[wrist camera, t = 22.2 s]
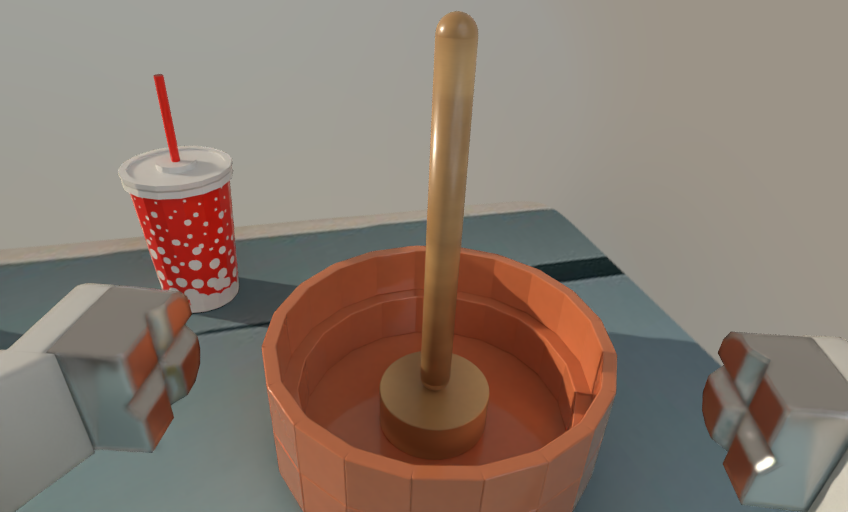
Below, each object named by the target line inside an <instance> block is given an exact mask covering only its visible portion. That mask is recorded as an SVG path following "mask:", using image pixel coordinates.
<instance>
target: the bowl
mask: <svg viewBox="0 0 848 512" xmlns="http://www.w3.org/2000/svg"><path fill="white" fill-rule="evenodd" d="M425 256H426V246H408V247H401V248H393V249H386V250H379V251H373V252H368V253H365V254H362V255H359V256H356V257H353V258H350V259H347V260H344V261H341V262H338V263H335V264H333V265H331V266H329V267H328V268H326V269H324V270H323V271H321V272H319V273H318V274H316V275H314V276H313V277H311V278H309V279H308V280H306V281H304V282H303V283H301V284H300V285H299V286H298V287H297V288H296V289H295V290H294V291H293V292H292V293H291V294H290V296H289V297H288V298H287V299H286V300H285V301H284V302H283V303H282V304H281V305H280V307H279V308H278V309H277V310H276V311H275V312H274V314H273V317H272V320H271V322H270V325H269V328H268V331H267V333H266V336H265V339H264V342H263V344H262V355H263V363H264V370H265V378H266V385H267V392H268V399H269V405H270V412H271V419H272V425H273V432H274V439H275V445H276V452H277V459H278V465H279V471H280V474H281V475H282V477H283V479H284V480H285V482H286V484H287V485H288V487H289V489H290V490H291V492H292V494H293V495H294V497H295V499H296V500H297V502H298V504H299V505H300V507H301V509H302V510H303V512H573V511H574V509H575V507H576V505H577V503H578V501H579V499H580V498H581V496H582V494H583V492H584V490H585V488H586V486H587V484H588V483H589V481H590V479H591V476H592V473H593V470H594V466H595V463H596V460H597V456H598V453H599V449H600V446H601V443H602V439H603V436H604V432H605V429H606V426H607V422H608V419H609V416H610V412H611V409H612V405H613V402H614V399H615V395H616V384H617V354H616V351H615V349H614V347H613V345H612V342H611V340H610V338H609V336H608V334H607V331H606V329H605V327H604V325H603V323H602V321H601V319H600V318H599V317H598V316H597V315H596V314H595V313H594V312H593V311H592V310H591V309H590V308H589V307H588V305H587V304H586V303H585V302H584V301H583V300H582V299H581V298H580V297H579V296H578V295H577V294H576V293H575V292H573V290H571V289H569V288H568V287H566V286H565V285H563V284H561V283H560V282H558V281H556V280H555V279H553V278H552V277H550V276H548V275H547V274H545V273H543V272H542V271H540V270H538V269H536V268H533V267H530V266H528V265H525V264H522V263H520V262H517V261H514V260H512V259H509V258H506V257H504V256H501V255H498V254H493V253H488V252H482V251H477V250H472V249H466V248H461V252H460V264H459V276H458V288H457V300H456V313H455V325H454V337H453V349H452V353H453V354H456V355H459V356H461V357H463V358H465V359H467V360H469V361H470V362H472V363H473V364H474V365H475V366H477V367H478V368H479V369H480V371H481V372H482V373H483V374H484V376H485V378H486V380H487V382H488V386H489V393H490V394H489V402H488V409H487V417H486V424H485V429H484V432H483V434H482V436H481V438H480V439H479V441H478V442H477V443H476V444H475V445H474V446H473V447H472V448H471V449H469V450H468V451H466V452H464V453H463V454H460V455H458V456H455V457H452V458H448V459H439V460H431V459H423V458H418V457H415V456H412V455H409V454H407V453H405V452H403V451H401V450H400V449H398V448H397V447H396V446H394V445H393V444H392V443H391V442H390V441H389V440H388V438H387V437H386V436H385V434H384V432H383V430H382V427H381V424H380V396H379V386H380V381H381V378H382V376H383V374H384V372H385V371H386V369H387V368H388V367H389V366H390V365H391V364H392V363H393V362H395V361H396V360H398V359H399V358H401V357H403V356H405V355H408V354H411V353H414V352H419V351H421V346H422V324H423V301H424V279H425Z"/></svg>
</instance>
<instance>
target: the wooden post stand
mask: <svg viewBox="0 0 848 512" xmlns="http://www.w3.org/2000/svg"><path fill="white" fill-rule="evenodd" d="M477 45H478V28H477V25H476V22H475V21H474V20H473V18H472V17H471V16H470V15H468V14H466V13H464V12H460V11H455V12H450V13H448V14H446V15H445V16H444V17H443V18H442V19H441V20H440V21H439V23H438V25H437V28H436V33H435V54H434V78H433V101H432V121H431V144H430V166H429V167H430V168H429V190H428V211H427V234H426V256H425V279H424V301H423V324H422V346H421V351H419V352H414V353H411V354H408V355H405V356H403V357H401V358H399V359H398V360H396V361H395V362H393V363H392V364H391V365H390V366H389V367H388V368H387V369H386V371H385V372H384V374H383V376H382V378H381V381H380V386H379V396H380V424H381V427H382V430H383V432H384V434H385V436H386V437H387V438H388V440H389V441H390V442H391V443H392V444H393V445H394V446H396V447H397V448H398V449H400V450H401V451H403V452H405V453H407V454H409V455H412V456H415V457H418V458H423V459H431V460H439V459H448V458H452V457H455V456H458V455H460V454H463V453H464V452H466V451H468V450H469V449H471V448H472V447H473V446H474V445H475V444H476V443H477V442H478V441H479V439H480V438H481V436H482V434H483V432H484V429H485V424H486V417H487V409H488V402H489V394H490V393H489V386H488V382H487V380H486V378H485V376H484V374H483V373H482V372H481V371H480V369H479V368H478V367H477V366H475V365H474V364H473V363H472V362H470V361H469V360H467V359H465V358H463V357H461V356H459V355H456V354H453V353H452V349H453V337H454V325H455V313H456V300H457V288H458V276H459V264H460V252H461V240H462V228H463V215H464V203H465V191H466V178H467V166H468V154H469V142H470V130H471V117H472V106H473V93H474V82H475V81H474V80H475V69H476V57H477Z"/></svg>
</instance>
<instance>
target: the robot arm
mask: <svg viewBox="0 0 848 512" xmlns="http://www.w3.org/2000/svg"><path fill="white" fill-rule="evenodd" d="M191 315H192V311H191V308H190V304H189V301H188V297H187V296H186V295H185V294H183V293H182V292H180V291H172V290H162V289H151V288H141V287H130V286H120V285H119V286H115V285H105V284H93V283H86V284H82V285H78V286H76V287H75V288H74V289H73V290H72V291H71V292H70V293H69V294H67V295H66V296H65V297H64V298H63V299H62V300H61V301H60V302H59V303H58V304H57V305H55V306H54V307H53V308H52V309H51V310H50V311H49V312H48V313H47V314H46V315H45V316H43V317H42V318H41V319H40V320H39V321H38V322H37V323H36V324H35V325H34V326H33V327H31V328H30V329H29V330H28V331H27V332H26V333H25V334H24V335H23V336H22V337H21V338H19V339H18V340H17V341H16V342H15V343H14V344H13V345H12V346H11V347H10V348H9V349H7V350H0V512H15V511H16V510H18V509H19V508H20V507H22V506H23V505H24V504H26V503H27V502H29V501H30V500H31V499H33V498H34V497H35V496H37V495H38V494H39V493H41V492H42V491H43V490H45V489H46V488H48V487H49V486H50V485H52V484H53V483H54V482H56V481H57V480H58V479H60V478H61V477H62V476H64V475H65V474H67V473H68V472H69V471H71V470H72V469H73V468H75V467H76V466H77V465H79V464H80V463H82V462H83V461H84V460H86V459H87V458H88V457H90V456H91V455H92V454H94V453H95V451H94V450H111V451H128V452H145V453H153V451H154V449H155V448H156V446H157V444H158V443H159V441H160V440H161V438H162V436H163V435H164V433H165V431H166V430H167V428H168V426H169V425H170V423H171V421H172V420H173V418H174V416H173V412H172V408H171V405H172V404H174V403H176V402H177V401H179V400H180V399H182V398H184V397H185V396H187V395H188V393H189V391H190V390H191V388H192V386H193V384H194V383H195V381H196V377H197V373H198V369H199V365H200V346H199V341H198V337H197V335H196V334H195V333H194V332H193V331H192V330H191V329H189V328H188V327H187V326H186V325H185V324H186V322H187V321H188V319H189V318H190V316H191ZM718 354H719V356H720V358H721V360H722V362H723V364H724V365H723V366H722V367H720V368H719V369H717V370H716V371H714V372H713V373H712V374H710V375H709V376H708V379H707V382H706V385H705V388H704V390H703V402H702V412H703V416H704V421H705V425H706V427H707V430H708V432H709V434H710V437H711V439H713V440H714V441H715V442H716V443H718V444H719V445H720V446H721V447H722V448H724V449H725V450H726V451H727V452H728V453H727V455H726V457H725V460H724V462H723V466H724V468H725V470H726V472H727V474H728V477H729V479H730V481H731V483H732V485H733V487H734V490H735V492H736V494H737V496H738V498H739V501H740V503H741V505H747V506H756V507H764V508H773V509H782V510H791V511H799V512H848V341H847V340H845V339H843V338H841V337H827V336H805V335H804V336H786V335H771V334H757V333H743V332H730V333H729V334H728V335H727V336H726V337H725V338H724V339H723V342H722V344H721V347H720V349H719V351H718Z"/></svg>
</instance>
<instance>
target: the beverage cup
mask: <svg viewBox="0 0 848 512" xmlns="http://www.w3.org/2000/svg"><path fill="white" fill-rule="evenodd" d="M154 80H155V85H156V90H157V94H158V99H159V104H160V109H161V113H162V118H163V123H164V128H165V133H166V137H167V142H168V148H162V149H156V150H152V151H149V152H145V153H142V154H139V155H136V156H134V157H133V158H130V159H129V160H127V161H125V162H123V164H122V165H121V167H120V168H119V169H118V174H119V177H120V179H121V180H122V185H123V187H124V189H125V191H126V192H128V193H130V195H131V198H132V201H133V204H134V207H135V210H136V213H137V216H138V219H139V222H140V225H141V228H142V231H143V234H144V237H145V240H146V243H147V246H148V249H149V252H150V255H151V258H152V261H153V264H154V267H155V270H156V273H157V276H158V279H159V282H160V285H161V288H162V290H172V291H180V292H182V293H183V294H185V295H186V296H187V297H188V301H189V304H190V308H191V311H192V313H196V312H206V311H209V310H213V309H216V308H219V307H221V306H223V305H225V304H226V303H228V302H230V301H231V300H232V299H233V298H234V297H235V296H236V295H237V293H238V289H239V279H238V268H237V257H236V245H235V234H234V224H233V223H234V222H233V211H232V200H231V189H230V180H231V179H232V174H233V169H232V158H231V157H230V156H229V155H228V154H227V153H226V152H224V151H221V150H218V149H215V148H210V147H201V146H177V141H176V137H175V132H174V127H173V122H172V117H171V112H170V107H169V102H168V97H167V92H166V87H165V82H164V77H163V75H162V74H157V75H154Z"/></svg>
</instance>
